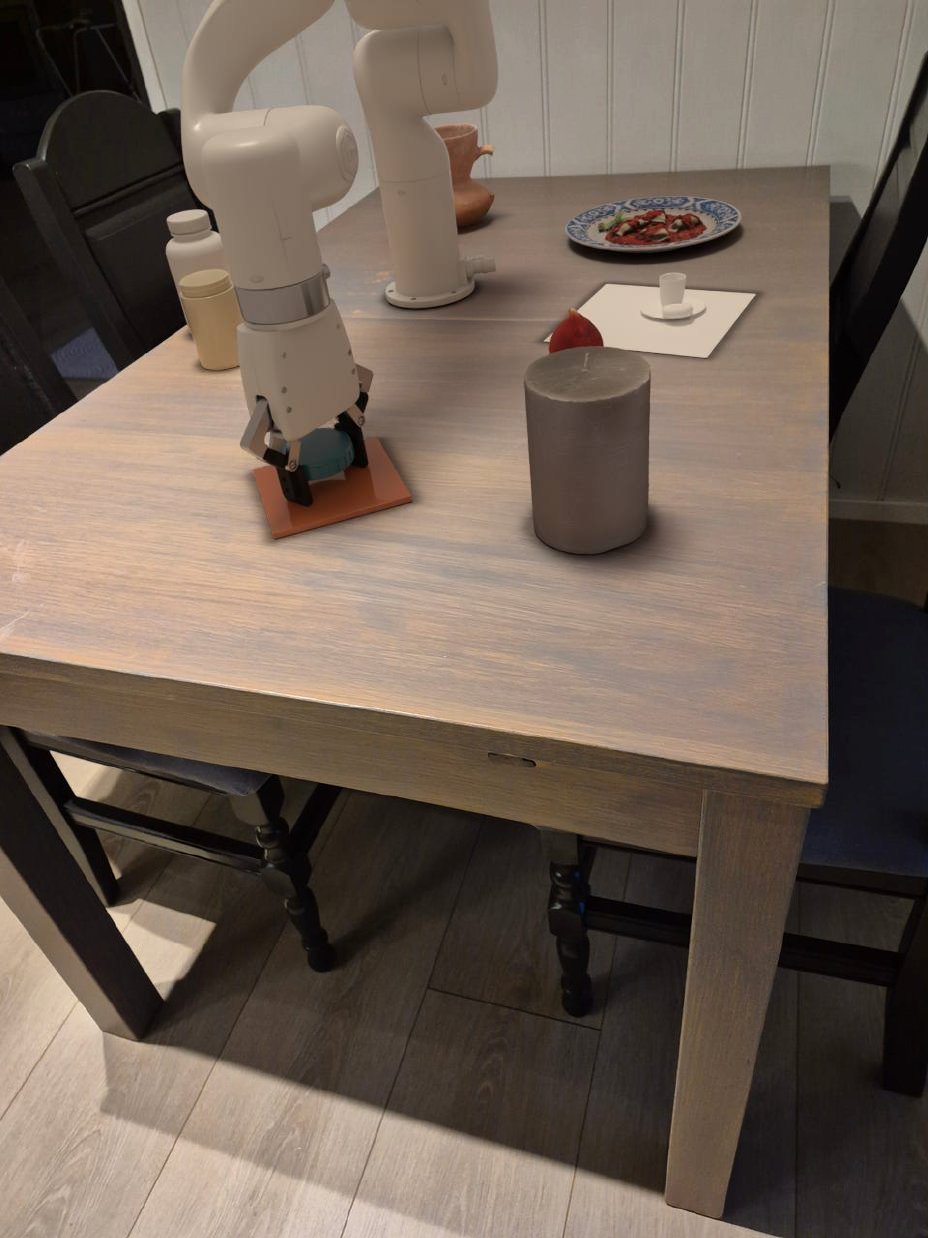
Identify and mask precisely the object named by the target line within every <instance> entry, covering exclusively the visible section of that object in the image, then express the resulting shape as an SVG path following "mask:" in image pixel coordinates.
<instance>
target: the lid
mask: <svg viewBox="0 0 928 1238" xmlns="http://www.w3.org/2000/svg"><path fill="white" fill-rule="evenodd" d="M286 446H287V441H285V440H283V448H282V453H283V454H286ZM354 457H355V456H354V449H353V444H352V442H351V438H350V436H349V435H348V434H347V433H346V432H344V431H341V430H337V429H334V427H319V428H317V429H315V430H314V431H312V432H311V433H309V434H307V435H306V436H304V437H302V439H301V446H300V454H299V462H298V465H300V466H303V467H304V468H305V471H306V474H307V478H308V481H312V480H319V479H324V478H327V477H330V476H333V475H335V474H337V473H339V472H341V471H343V470H344V469H346V468H347V467H348V466H349V465H350V464H351V463H352V462H353V459H354Z"/></svg>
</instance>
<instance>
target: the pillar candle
mask: <svg viewBox="0 0 928 1238" xmlns="http://www.w3.org/2000/svg"><path fill="white" fill-rule="evenodd" d="M651 372H652V371H651V365H650V363H649V362H648V360H647V359H646V358H644V357H643V356H642V355H641V354H640V353H637V352H634V351H632V350H625V349H620V348H613V347H602V346H589V347H576V348H571V349H566V350H561V351H558V352H554V353H550V354H549V353H548V354H546V355H544V356H541V357H540V358H537V359H535V361H533V362H531V364H530V365H528V366H527V368H526V369H525V371H524V374H523V387H524V407H525V418H526V419H525V420H526V433H527V435H526V436H527V450H528V463H529V479H530V493H531V496H530V497H531V507H532V510H531V512H532V524H533V530H534V533H535V535H536V536H537V537H538V538H539V540H541V541H542V542H543V543H545V544H546V545H548V546H549V547H551V548H553V549H555V550H559V551H562V552H566V553H570V554H571V553H572V554H577V555H583V554H584V555H596V554H601V553H605V552H607V551H611V550H613V549H616V548H620V547H622V546H625V545H628V544H630V543H631V544H632V543H633V542H634V541H636V540H637V539H638V538H640V537H641V536H642V534H644V531H645V530H646V527H647V524H648V511H649V499H650V498H649V493H650V492H649V491H650V489H649V487H650V429H651V428H650V425H651V424H650V422H651V385H652V384H651V382H652V381H651V379H652V373H651Z"/></svg>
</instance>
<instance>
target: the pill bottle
mask: <svg viewBox="0 0 928 1238" xmlns="http://www.w3.org/2000/svg"><path fill="white" fill-rule="evenodd" d="M166 224H167V227H168V230H169V232H170V236H172V237H173V238H171V239H170V240H169V241H168V243H166V247H165V256H166V258H167V262H168V265H169V269H170V272H171V275H172V277H173V281H174V285H175V289H176V291H177V295H178V299H179V302H180V305H181V308H182V311H183V315H184V319H185V322H186V324H187V328H188V330H189V333H190V334H191V335H192V333H191V330H190V327H189V324H188V321H187V317H186V314H185V311H184V308H183V305H182V301H181V298H180V292H181V290H180V286H179V282H180V280H181V279H182V278H184V277H185V276H187V275H190V274H192V273H195V272H199V271H204V270H211V269H221V270H226V271H227V272H228V273H229V274H230V270H229V266H228V263H227V259H226V255H225V251H224V248H223V244H222V240H221V237H220V233H219V232H217V231H214V230H212V224H211V220H210V217H209V213H208V211H206V210H204V209H188V210H182V211H179V212H175V213H173V214H171V215H169V216H168V217H167V218H166ZM230 277H231V274H230ZM230 281H232V277H231V278H230Z"/></svg>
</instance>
